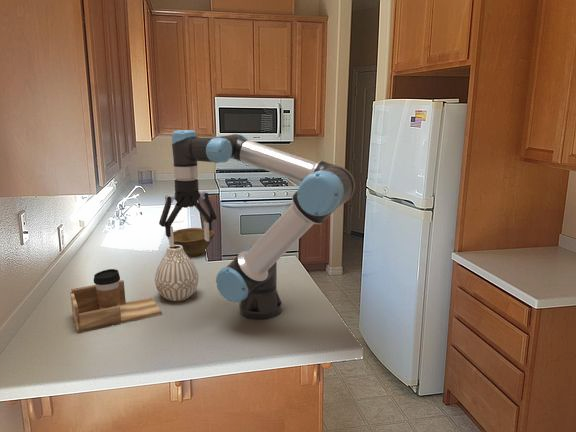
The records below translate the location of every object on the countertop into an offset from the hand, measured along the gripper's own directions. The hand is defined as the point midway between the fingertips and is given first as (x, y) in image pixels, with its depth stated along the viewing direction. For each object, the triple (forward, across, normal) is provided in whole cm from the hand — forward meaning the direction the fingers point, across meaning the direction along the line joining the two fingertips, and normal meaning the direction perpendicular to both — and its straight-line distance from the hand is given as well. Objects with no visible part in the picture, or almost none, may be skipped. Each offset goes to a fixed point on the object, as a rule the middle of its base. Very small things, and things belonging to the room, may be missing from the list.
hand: (189, 243), depth 155 cm
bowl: (+26, -22, -66) cm, 74 cm away
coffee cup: (+25, +25, -13) cm, 38 cm away
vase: (+26, 0, -18) cm, 32 cm away
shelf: (+26, +23, -13) cm, 37 cm away
